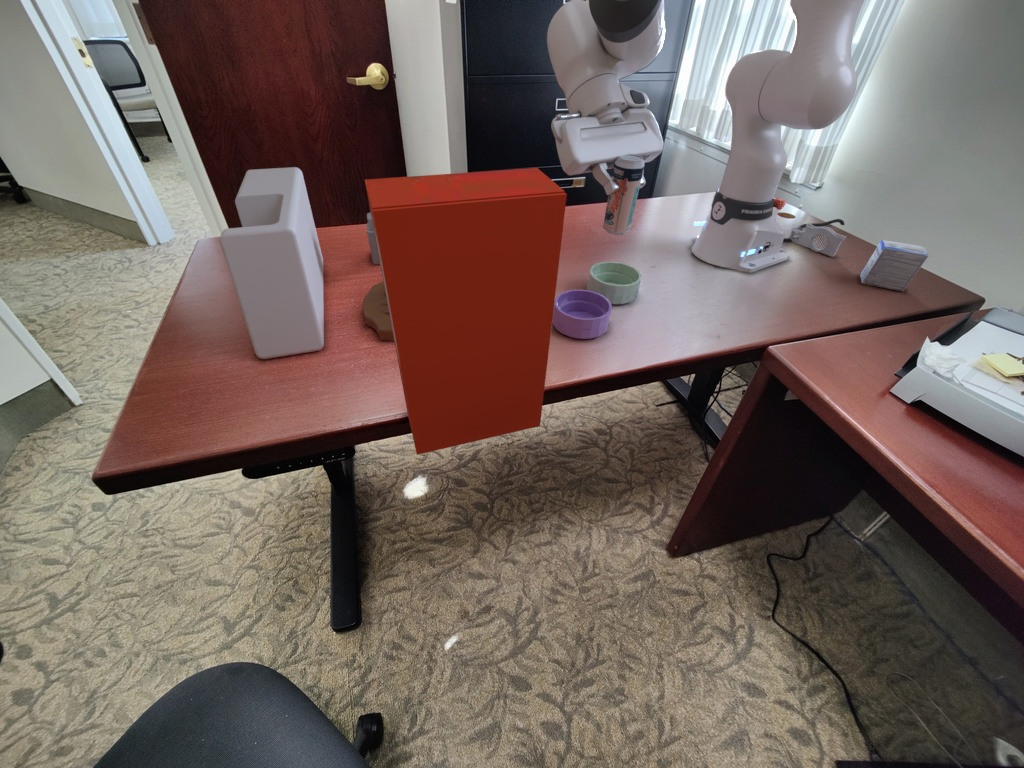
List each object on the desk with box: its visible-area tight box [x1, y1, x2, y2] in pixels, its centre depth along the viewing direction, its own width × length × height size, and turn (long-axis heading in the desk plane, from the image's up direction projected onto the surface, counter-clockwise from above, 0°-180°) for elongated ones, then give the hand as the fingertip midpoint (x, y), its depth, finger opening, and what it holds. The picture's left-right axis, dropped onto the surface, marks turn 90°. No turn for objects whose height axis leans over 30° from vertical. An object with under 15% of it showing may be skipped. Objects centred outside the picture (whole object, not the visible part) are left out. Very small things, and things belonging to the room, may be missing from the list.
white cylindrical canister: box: [602, 154, 645, 236], centre depth 74 cm, size 5×5×12 cm
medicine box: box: [859, 239, 929, 292], centre depth 94 cm, size 8×4×9 cm, turn 65°
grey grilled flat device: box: [788, 222, 847, 257], centre depth 108 cm, size 12×2×6 cm, turn 34°
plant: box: [362, 281, 394, 342], centre depth 79 cm, size 20×20×11 cm
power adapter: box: [366, 210, 380, 265], centre depth 94 cm, size 3×5×12 cm, turn 15°
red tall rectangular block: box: [364, 167, 568, 456], centre depth 51 cm, size 8×17×32 cm, turn 109°
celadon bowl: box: [586, 261, 642, 305], centre depth 88 cm, size 10×10×4 cm
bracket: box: [219, 166, 325, 360], centre depth 79 cm, size 30×10×30 cm, turn 18°
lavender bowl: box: [552, 288, 613, 340], centre depth 79 cm, size 10×10×4 cm
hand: (627, 189), depth 73 cm, fingers closed on white cylindrical canister, 5 cm apart
